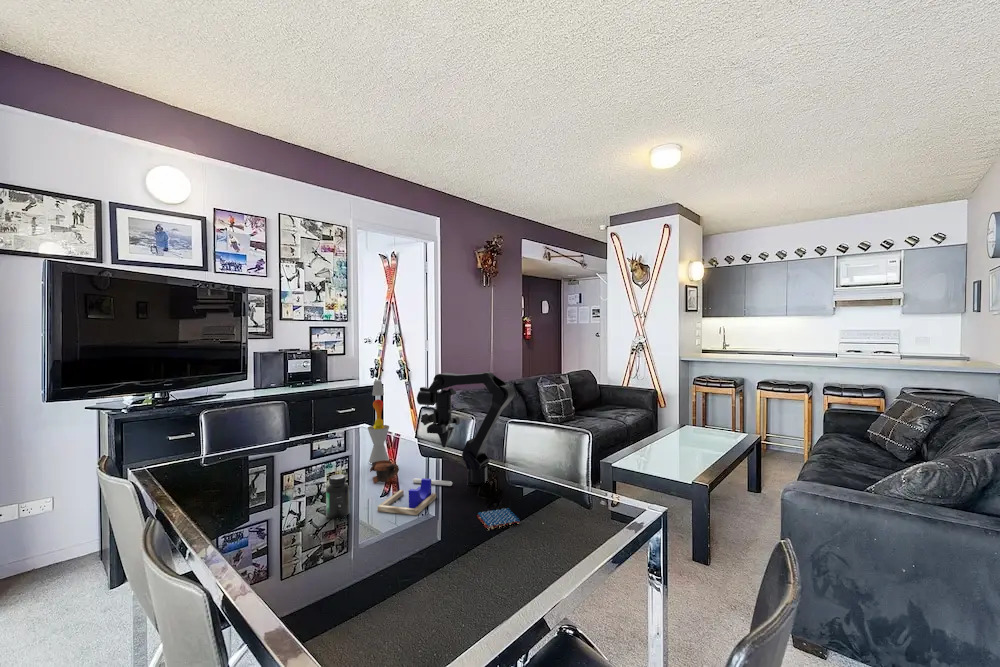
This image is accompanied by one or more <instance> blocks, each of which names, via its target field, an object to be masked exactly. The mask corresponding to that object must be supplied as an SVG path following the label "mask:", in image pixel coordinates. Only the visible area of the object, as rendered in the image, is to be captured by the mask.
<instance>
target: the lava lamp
mask: <svg viewBox="0 0 1000 667" xmlns="http://www.w3.org/2000/svg"><path fill="white" fill-rule="evenodd" d="M383 387H384V386H383V382H382V380H381V379H376V380H374V381H373V387H372V393H371V396H375V397H377V396H378V397H379V396H380V397H381V396H384V395H385V392H384V388H383ZM372 407H373V408H374V410H375V412H376V418H375V420H374V424H373V425H371V426H368V427H367V431H368V432H369V436H370V439H371V441H372V444H373V445H372V446H373V447H372V450H371V453H370V457H369V459H368V463H369V462H370V463H373V462H376V461H382V460H387V461H390V458H389V455H388V452H387V449H386V447H385V441H386V439H387V435H388V432H389V429H390V425H387V424H384V420H383V419H382V413H383V412H382V411H383V408H384V401H383V400H381V399H375V400H374V401H373V402H372Z"/></svg>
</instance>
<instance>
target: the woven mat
mask: <svg viewBox="0 0 1000 667" xmlns="http://www.w3.org/2000/svg"><path fill="white" fill-rule="evenodd" d="M476 517H477V520H479V521H480V523H482V524H484V525H482V527H484V528H485V529H486V528H487V529H488V530H487V529H486V530H487V531H490V530H494V529H495V528H498V526H499V528H498V529H501V528H502V526H504V527H506V526H505V525H507V526H508V524H509V525H511V524H514V523H517V524H519V525H520V522H521V521H520V518H519V517H518V516H517V515H516V514H515V513H514V512H513V511H512V510H511V509H510V508H509V507H507V508H501V509H496V510H495V509H493V510H488V511H482V512H481V511H479V512H478V513H477V515H476ZM514 525H515V524H514ZM500 527H501V528H500Z"/></svg>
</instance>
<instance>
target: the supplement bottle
mask: <svg viewBox="0 0 1000 667" xmlns="http://www.w3.org/2000/svg"><path fill="white" fill-rule="evenodd" d="M346 482H347V478H346V475H345V474H343V473H342V474H341V473H339V474H333V475H331V476H329V477H328V484H329V485H328V486H326V488H325V511H326V512H325V515H326V518H328V519H329V518H330V520H338V519H337V518H341V517H344V516H346V515H348V514H349V515H350V508H351V507H350V505H351V504H350V502H351V501H350V485H349V484H348V483H346ZM349 515H348V516H349ZM346 517H347V516H346ZM344 518H345V517H344ZM341 519H342V518H341Z"/></svg>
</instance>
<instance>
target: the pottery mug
mask: <svg viewBox="0 0 1000 667" xmlns="http://www.w3.org/2000/svg"><path fill="white" fill-rule="evenodd" d="M371 465H372V466H371V467H370V469H369V471H370V472H376V475H375V476H373V477H372V482H373V484H375V483H376V484H377V483H389V482H390V481H389V480H390V479H392V480H393V479H394V477H395V476H397V474H398V473H399V470H400V467H399V465H398V464H396V463H393V462H392V461H391V460H389V461H387V460H382V461H376V462H373V463H372V464H371Z"/></svg>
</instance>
